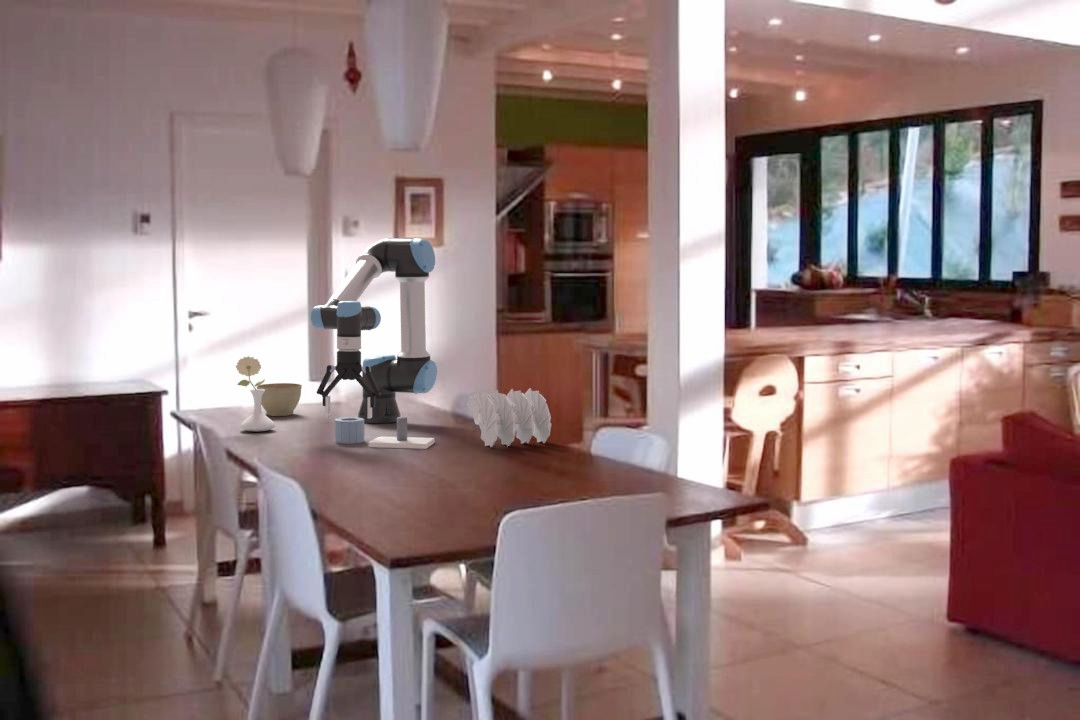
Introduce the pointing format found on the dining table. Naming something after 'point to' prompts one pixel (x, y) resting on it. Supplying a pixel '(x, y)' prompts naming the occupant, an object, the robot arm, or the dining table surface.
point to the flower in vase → (257, 418)
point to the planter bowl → (280, 398)
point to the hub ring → (349, 430)
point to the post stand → (402, 439)
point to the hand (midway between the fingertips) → (348, 417)
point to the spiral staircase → (511, 416)
